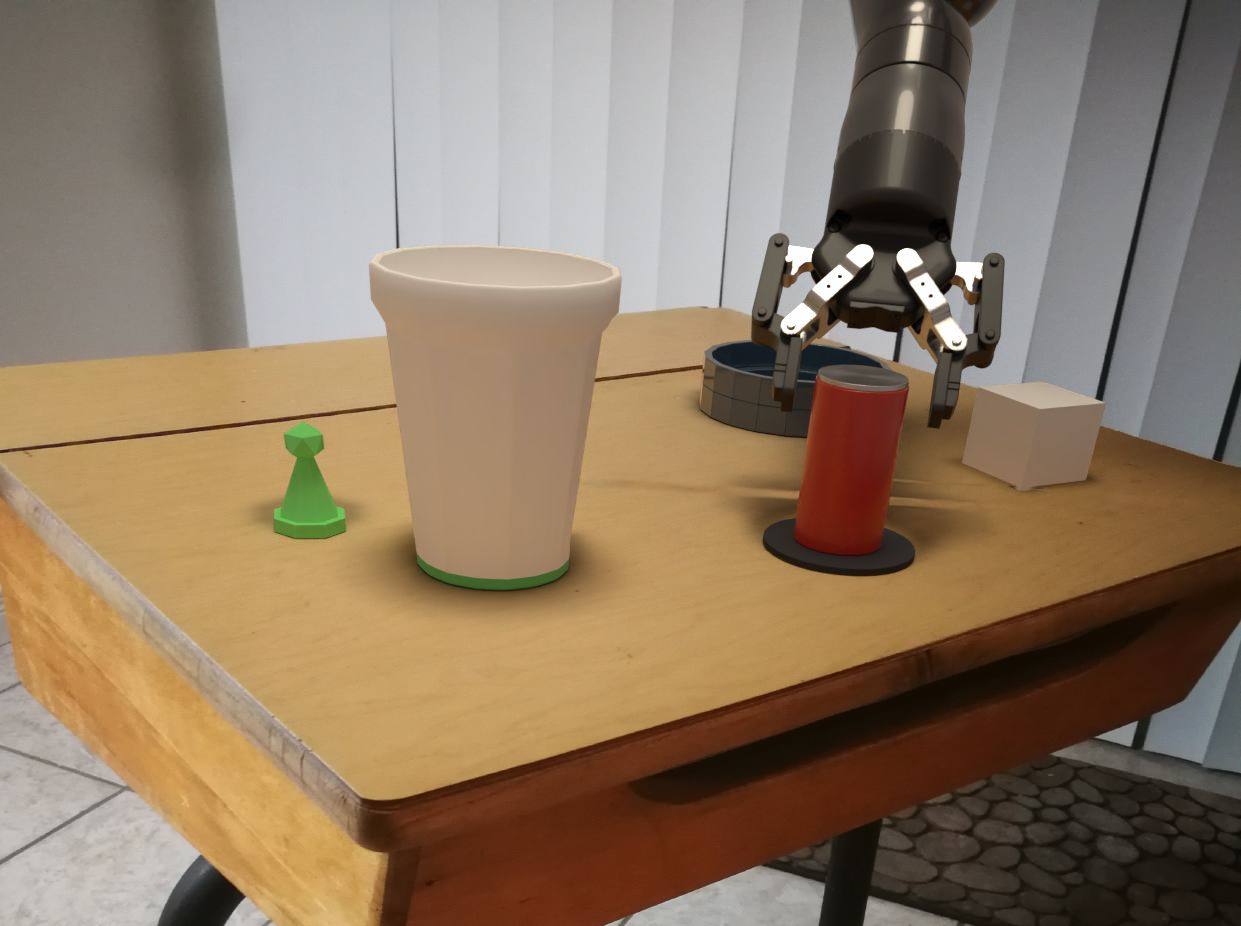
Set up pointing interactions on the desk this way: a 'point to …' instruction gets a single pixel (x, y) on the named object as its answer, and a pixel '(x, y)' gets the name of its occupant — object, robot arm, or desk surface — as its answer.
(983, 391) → the beige cube
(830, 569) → the coaster
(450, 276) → the cup
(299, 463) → the game piece
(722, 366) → the dish
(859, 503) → the can
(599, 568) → the desk surface
